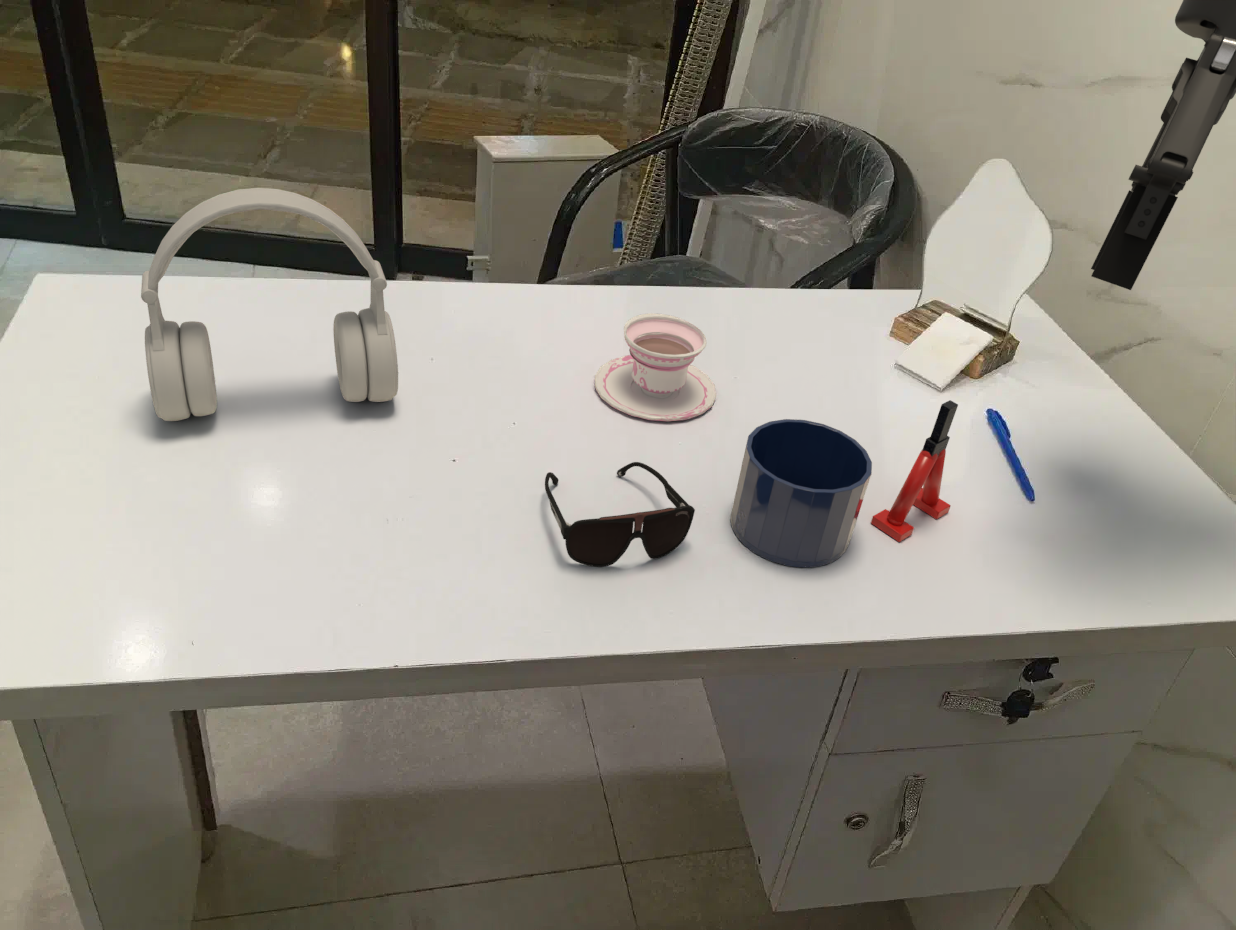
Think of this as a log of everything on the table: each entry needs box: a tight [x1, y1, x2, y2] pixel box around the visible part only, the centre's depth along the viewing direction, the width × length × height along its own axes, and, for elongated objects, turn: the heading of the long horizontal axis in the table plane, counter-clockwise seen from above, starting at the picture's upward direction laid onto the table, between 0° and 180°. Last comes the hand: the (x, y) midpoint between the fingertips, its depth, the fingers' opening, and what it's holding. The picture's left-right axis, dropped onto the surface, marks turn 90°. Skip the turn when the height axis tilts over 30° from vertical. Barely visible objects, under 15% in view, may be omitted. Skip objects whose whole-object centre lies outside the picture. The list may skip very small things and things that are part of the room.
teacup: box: [594, 312, 717, 422], centre depth 96 cm, size 12×12×6 cm
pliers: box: [870, 400, 959, 543], centre depth 81 cm, size 3×7×12 cm, turn 131°
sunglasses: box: [544, 461, 696, 568], centre depth 79 cm, size 10×12×5 cm
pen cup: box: [730, 418, 873, 568], centre depth 80 cm, size 10×10×8 cm
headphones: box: [140, 187, 399, 422], centre depth 83 cm, size 20×8×19 cm, turn 109°
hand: (1108, 279), depth 75 cm, fingers open, 13 cm apart
